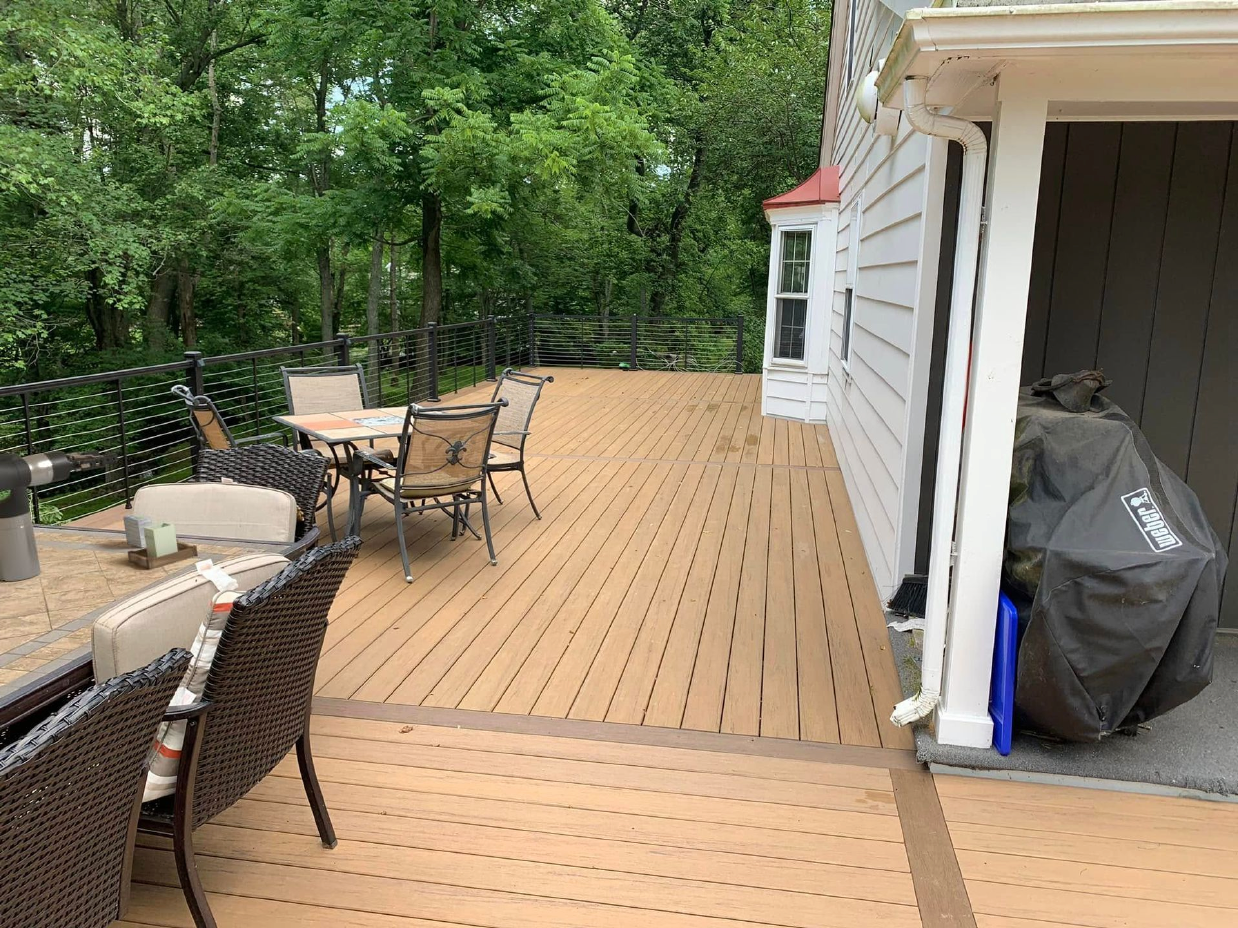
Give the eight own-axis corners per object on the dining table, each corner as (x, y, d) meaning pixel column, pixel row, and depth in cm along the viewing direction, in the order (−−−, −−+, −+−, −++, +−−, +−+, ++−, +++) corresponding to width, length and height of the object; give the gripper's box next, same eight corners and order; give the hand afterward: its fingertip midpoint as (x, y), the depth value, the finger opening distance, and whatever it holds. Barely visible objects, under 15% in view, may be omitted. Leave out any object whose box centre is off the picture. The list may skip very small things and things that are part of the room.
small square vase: (147, 558, 251) (142, 527, 249) (169, 552, 256) (164, 521, 254) (157, 561, 248) (152, 530, 246) (178, 554, 253) (174, 524, 251)
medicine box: (156, 544, 265) (152, 516, 263) (141, 548, 261) (137, 520, 259) (141, 540, 269) (137, 512, 267) (126, 544, 266) (122, 516, 264)
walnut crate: (129, 561, 250) (127, 551, 249) (176, 548, 260) (175, 538, 260) (149, 569, 243) (147, 559, 242) (197, 555, 254) (196, 545, 253)
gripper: (56, 456, 217) (121, 444, 231) (25, 451, 224) (90, 439, 238) (61, 486, 219) (125, 472, 233) (30, 480, 226) (94, 466, 240)
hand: (107, 455), depth 235 cm, fingers open, 8 cm apart
